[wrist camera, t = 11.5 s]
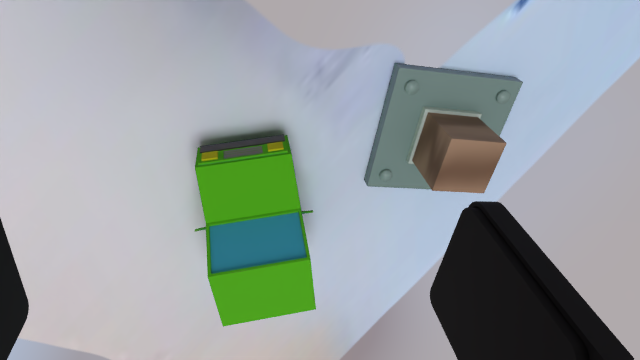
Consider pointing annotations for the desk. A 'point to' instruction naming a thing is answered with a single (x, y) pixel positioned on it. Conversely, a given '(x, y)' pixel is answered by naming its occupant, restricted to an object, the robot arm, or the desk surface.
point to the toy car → (254, 230)
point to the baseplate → (435, 97)
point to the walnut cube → (457, 153)
